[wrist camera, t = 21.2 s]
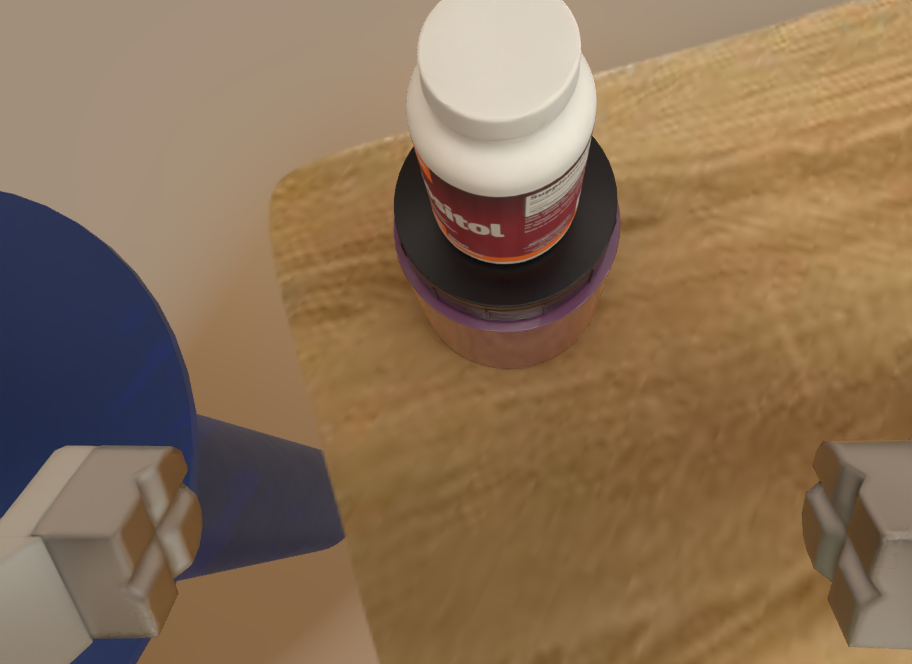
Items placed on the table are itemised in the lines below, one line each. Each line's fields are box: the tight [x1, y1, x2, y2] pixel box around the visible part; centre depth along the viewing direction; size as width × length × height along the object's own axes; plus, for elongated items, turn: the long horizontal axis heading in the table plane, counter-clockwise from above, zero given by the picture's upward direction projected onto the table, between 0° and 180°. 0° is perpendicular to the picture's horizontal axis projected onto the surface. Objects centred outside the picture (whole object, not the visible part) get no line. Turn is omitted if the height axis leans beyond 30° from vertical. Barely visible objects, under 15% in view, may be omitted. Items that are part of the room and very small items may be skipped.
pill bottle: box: [406, 0, 597, 264], centre depth 26 cm, size 6×6×11 cm
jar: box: [394, 202, 621, 369], centre depth 38 cm, size 10×10×11 cm
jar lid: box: [394, 136, 618, 321], centre depth 33 cm, size 10×10×2 cm
